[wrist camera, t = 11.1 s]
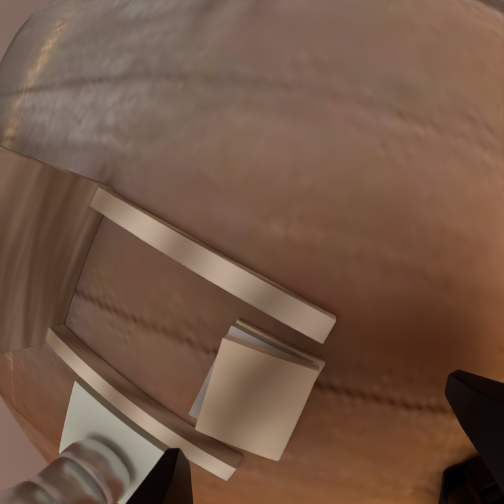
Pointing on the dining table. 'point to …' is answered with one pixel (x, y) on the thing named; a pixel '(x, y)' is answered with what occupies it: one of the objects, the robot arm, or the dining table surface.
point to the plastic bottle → (75, 478)
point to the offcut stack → (255, 391)
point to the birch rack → (68, 271)
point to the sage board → (111, 433)
